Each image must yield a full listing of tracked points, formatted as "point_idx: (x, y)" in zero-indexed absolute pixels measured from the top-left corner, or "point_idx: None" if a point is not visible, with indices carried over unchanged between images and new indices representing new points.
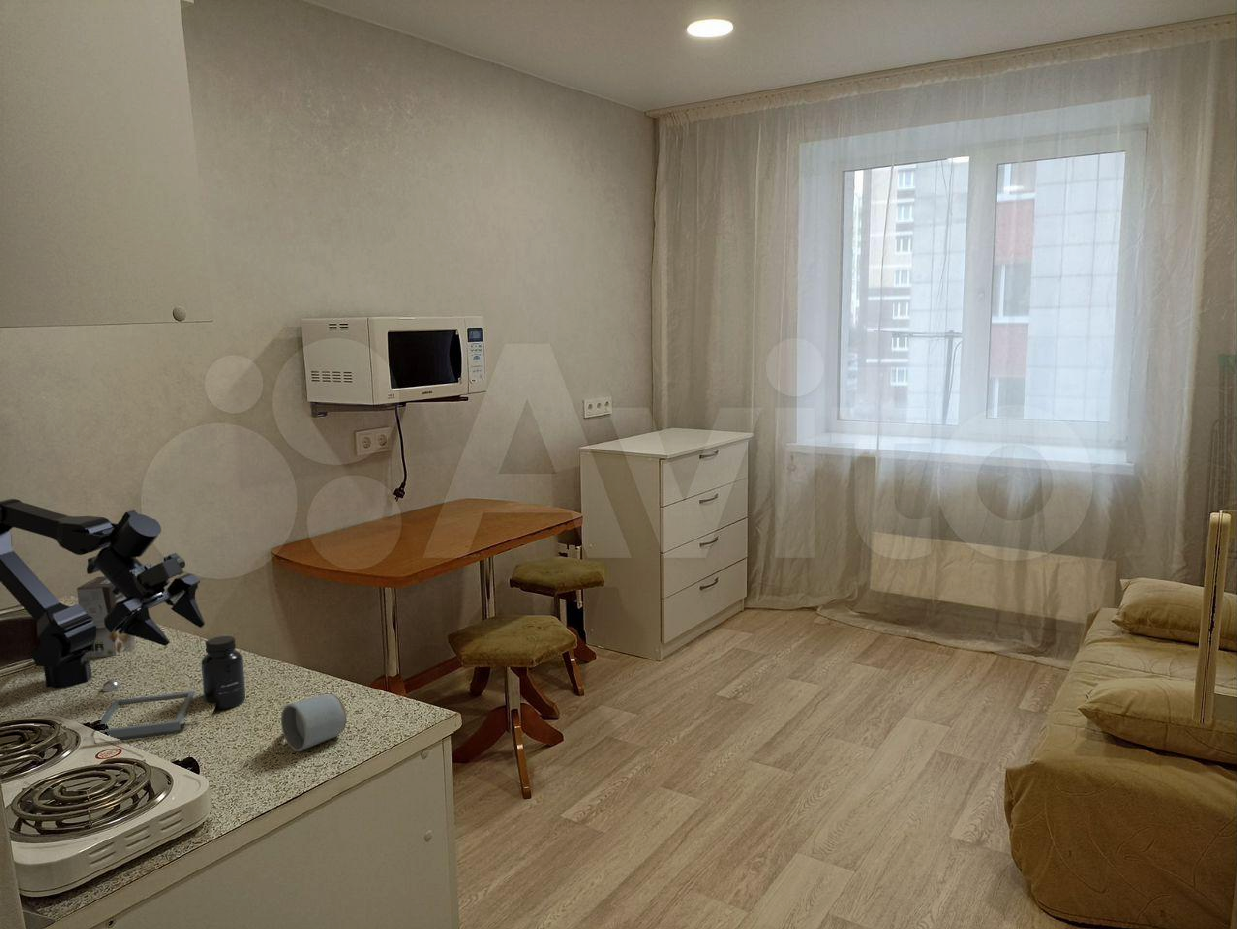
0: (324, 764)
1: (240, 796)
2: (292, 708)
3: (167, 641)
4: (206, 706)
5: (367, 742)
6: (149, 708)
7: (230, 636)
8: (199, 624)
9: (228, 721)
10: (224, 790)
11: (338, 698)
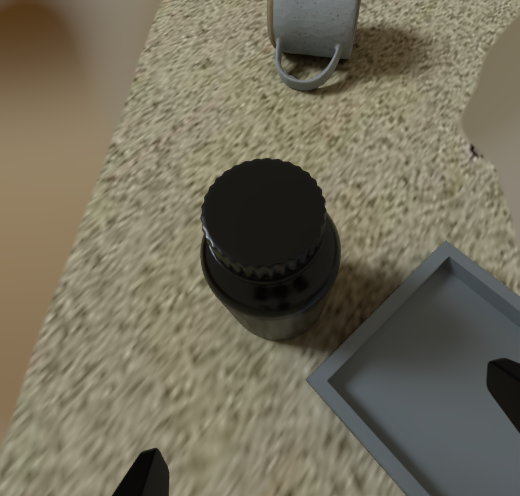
0: None
1: (480, 17)
2: (337, 4)
3: (509, 361)
4: None
5: None
6: None
7: (206, 209)
8: (162, 485)
9: (338, 210)
10: (488, 40)
11: None
